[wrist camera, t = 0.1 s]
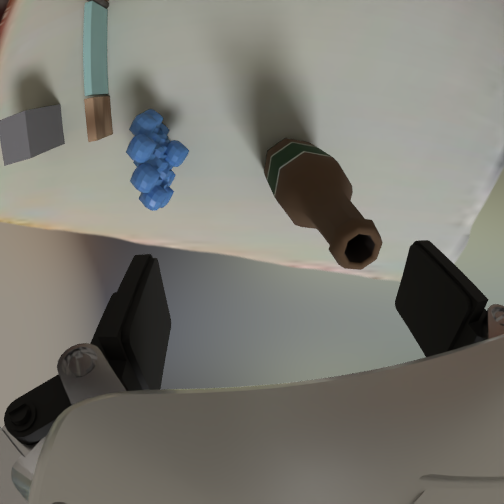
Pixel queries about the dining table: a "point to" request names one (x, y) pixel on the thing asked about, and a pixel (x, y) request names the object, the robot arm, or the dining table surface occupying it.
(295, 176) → the beer bottle
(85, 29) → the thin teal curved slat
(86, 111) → the brown wooden block
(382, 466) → the robot arm
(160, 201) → the grapes
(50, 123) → the doorstop block
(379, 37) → the dining table surface
